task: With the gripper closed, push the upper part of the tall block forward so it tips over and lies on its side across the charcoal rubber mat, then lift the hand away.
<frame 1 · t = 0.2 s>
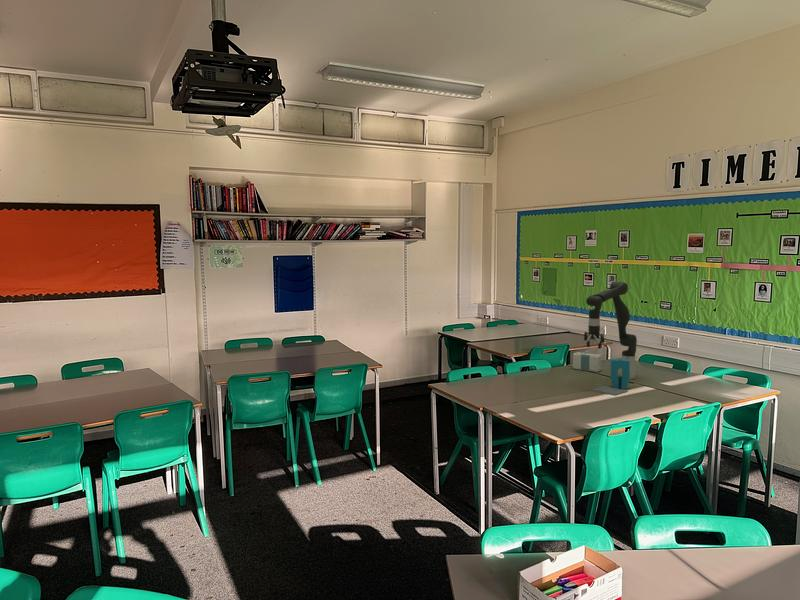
hand: (593, 347, 386), 29 cm above the table, tool pointing down, fingers open, 8 cm apart
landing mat: (609, 390, 381), on the table
stereo radio cassette player: (587, 370, 443), on the table
block: (619, 388, 388), on the table
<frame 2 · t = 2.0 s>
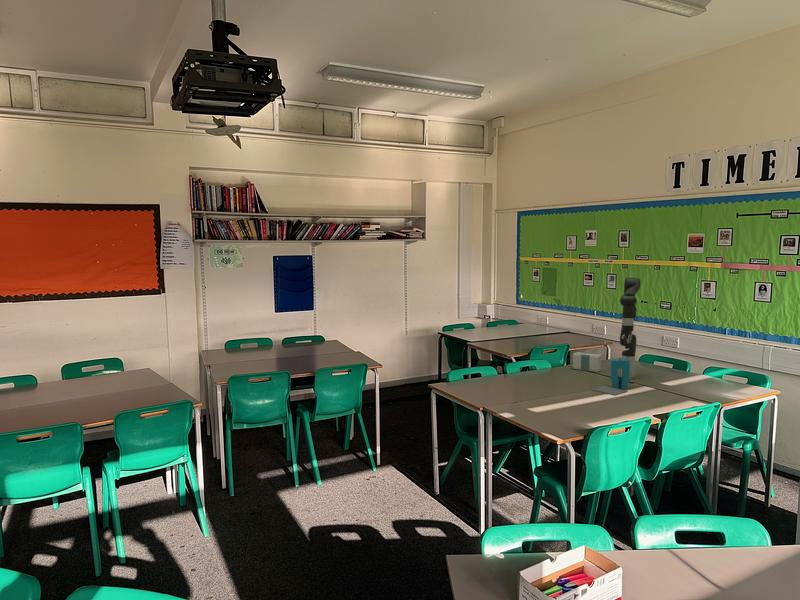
hand: (627, 348, 390), 27 cm above the table, tool pointing down, fingers closed
nothing on the table moved.
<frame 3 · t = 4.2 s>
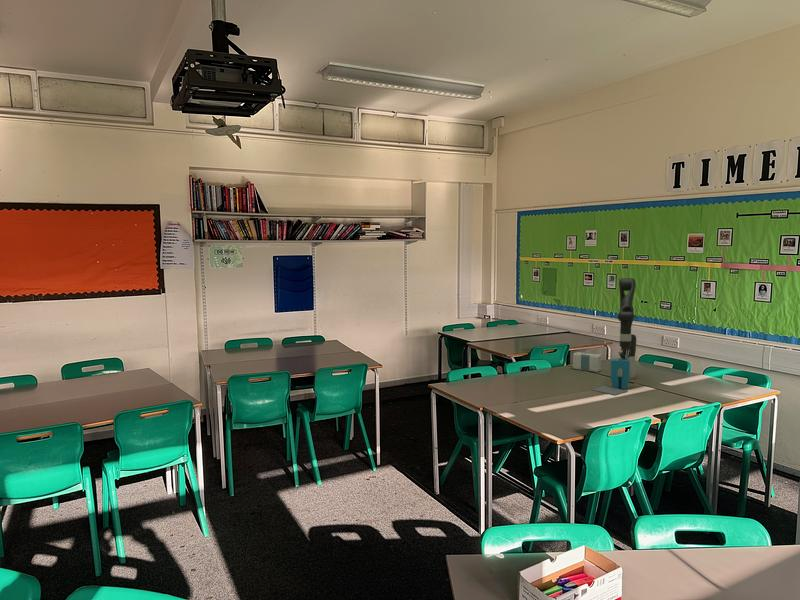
hand: (624, 364, 390), 16 cm above the table, tool pointing down, fingers closed
nothing on the table moved.
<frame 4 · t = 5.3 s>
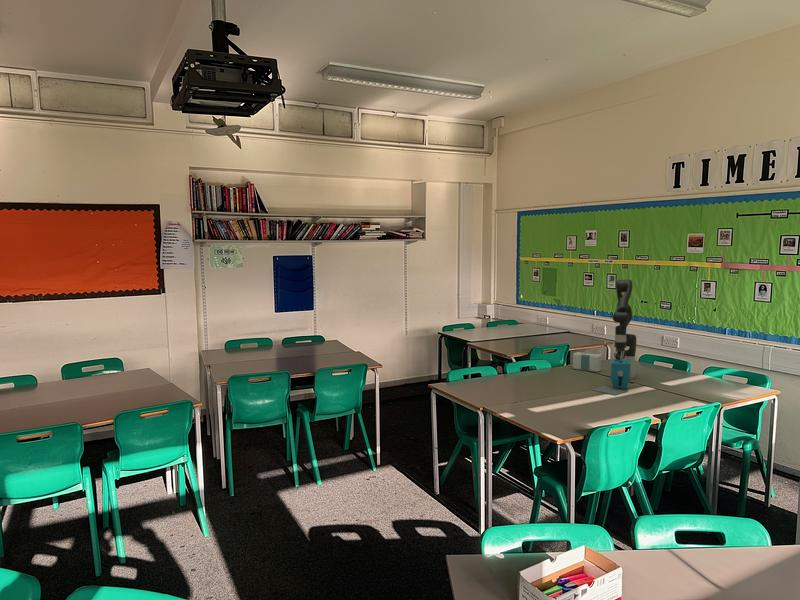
hand: (619, 365, 386), 16 cm above the table, tool pointing down, fingers closed
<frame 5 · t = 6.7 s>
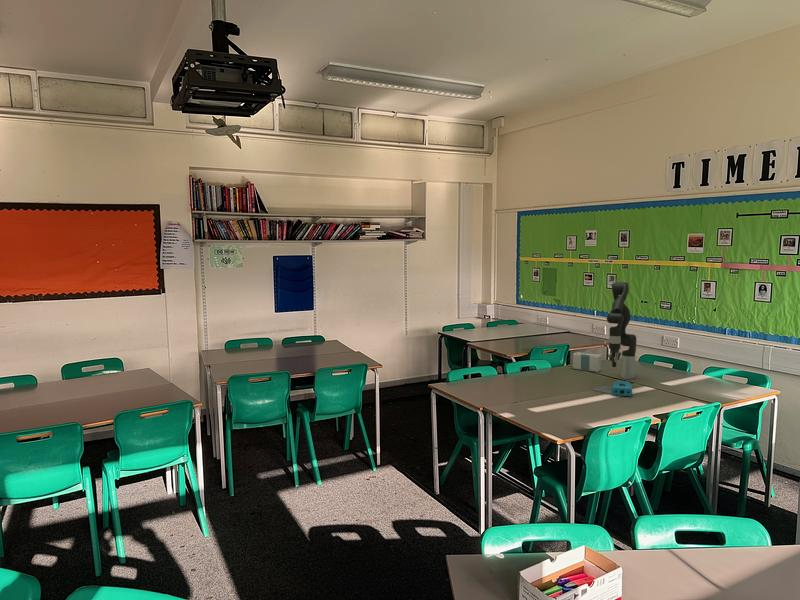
hand: (614, 366, 382), 16 cm above the table, tool pointing down, fingers closed
block: (622, 384, 385), point 3 cm above the table, touching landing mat
everything else where it was.
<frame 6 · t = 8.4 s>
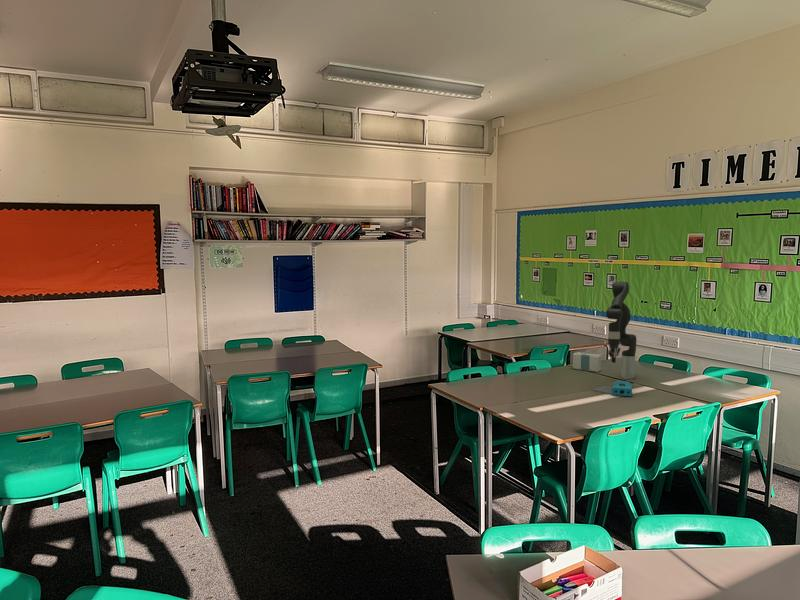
hand: (613, 362, 381), 19 cm above the table, tool pointing down, fingers closed
nothing on the table moved.
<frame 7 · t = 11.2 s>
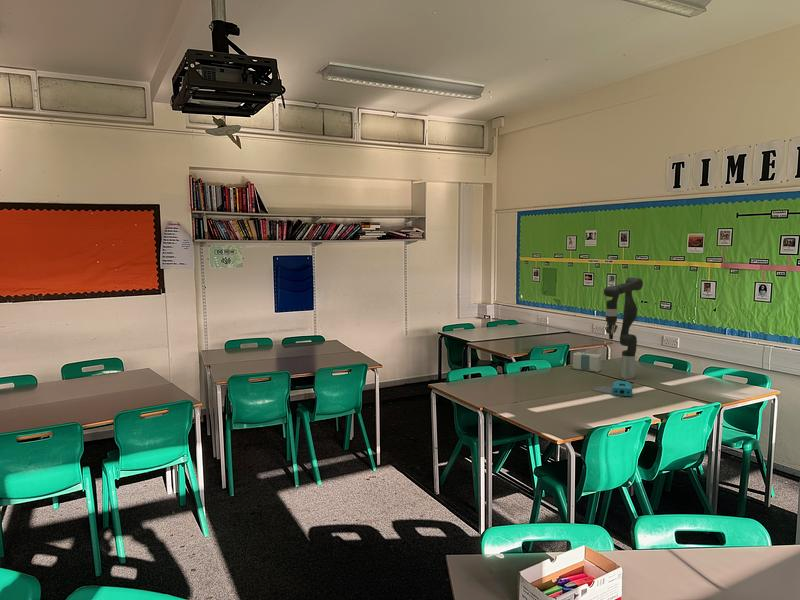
hand: (611, 339, 395), 33 cm above the table, tool pointing down, fingers closed
nothing on the table moved.
at the end: block tilted 90°; block touching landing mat; block inside the target area (4.9 cm from its centre), point 3.1 cm above the table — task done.
